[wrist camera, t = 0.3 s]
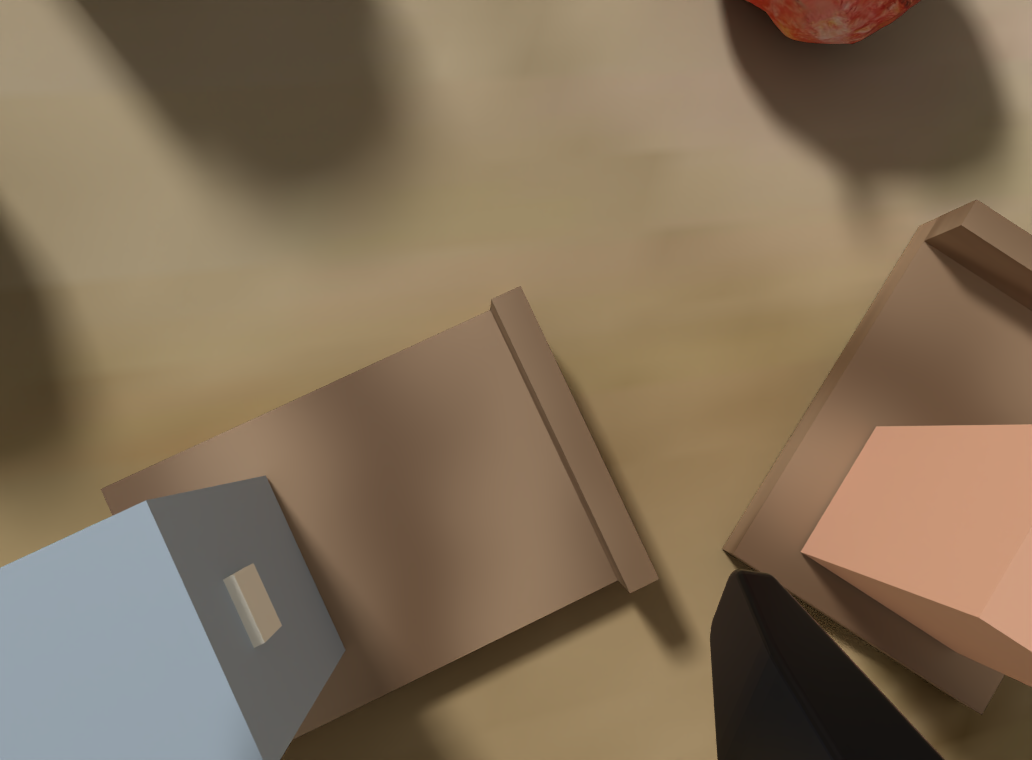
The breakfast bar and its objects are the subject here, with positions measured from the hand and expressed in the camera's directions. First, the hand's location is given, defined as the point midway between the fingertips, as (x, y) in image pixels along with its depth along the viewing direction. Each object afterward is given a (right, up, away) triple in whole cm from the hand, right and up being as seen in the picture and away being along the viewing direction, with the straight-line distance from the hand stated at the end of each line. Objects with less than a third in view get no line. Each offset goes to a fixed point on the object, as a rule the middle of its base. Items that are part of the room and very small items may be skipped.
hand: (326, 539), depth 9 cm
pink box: (+13, -3, +13) cm, 19 cm away
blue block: (-5, -4, +13) cm, 14 cm away
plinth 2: (+14, -1, +15) cm, 21 cm away
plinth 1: (-2, -2, +14) cm, 14 cm away
